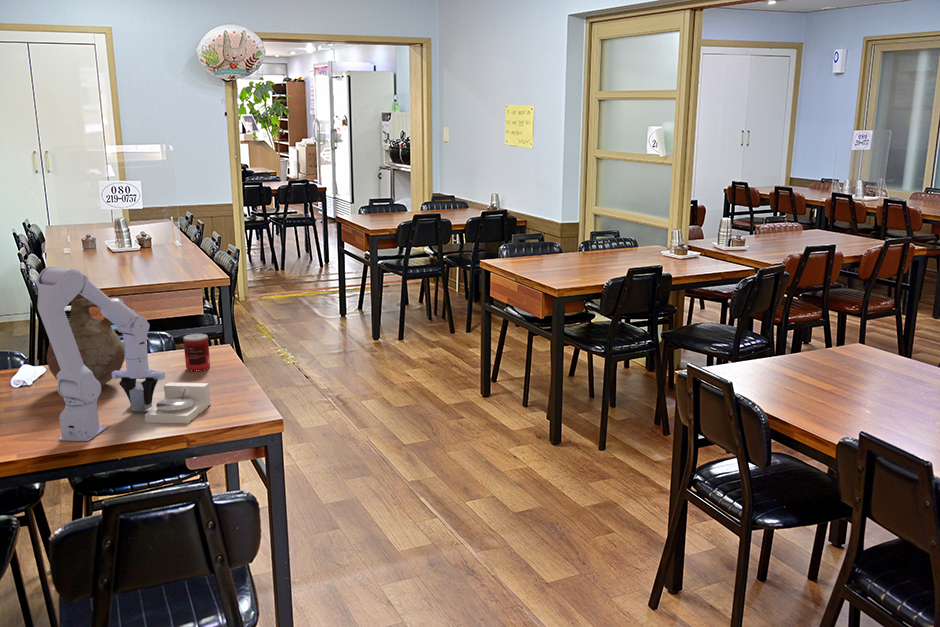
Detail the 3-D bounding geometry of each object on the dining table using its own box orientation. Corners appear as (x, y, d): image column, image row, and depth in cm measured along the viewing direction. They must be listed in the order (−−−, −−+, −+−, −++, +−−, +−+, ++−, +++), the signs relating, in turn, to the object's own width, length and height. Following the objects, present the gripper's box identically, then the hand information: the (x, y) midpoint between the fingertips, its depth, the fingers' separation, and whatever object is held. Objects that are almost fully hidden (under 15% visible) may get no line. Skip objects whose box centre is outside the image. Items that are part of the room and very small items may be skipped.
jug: (58, 380, 252) (46, 288, 246) (130, 374, 259) (121, 283, 252) (45, 402, 232) (31, 302, 225) (124, 394, 239) (113, 297, 232)
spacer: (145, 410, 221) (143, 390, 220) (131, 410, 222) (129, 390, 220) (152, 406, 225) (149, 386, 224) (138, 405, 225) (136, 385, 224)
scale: (188, 423, 214) (186, 400, 213) (145, 422, 215) (143, 399, 214) (210, 404, 229) (208, 383, 228) (170, 403, 230) (168, 382, 229)
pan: (185, 411, 215) (185, 409, 215) (149, 410, 216) (149, 408, 216) (200, 399, 224) (200, 397, 224) (166, 398, 225) (166, 396, 225)
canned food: (200, 363, 270) (197, 332, 267) (215, 367, 265) (212, 335, 263) (181, 369, 264) (178, 337, 261) (195, 373, 259) (192, 340, 257)
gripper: (168, 353, 223) (172, 399, 226) (119, 352, 225) (123, 398, 228) (156, 360, 216) (160, 407, 219) (105, 359, 218) (110, 406, 221)
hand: (141, 403), depth 223 cm, fingers closed on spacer, 4 cm apart
